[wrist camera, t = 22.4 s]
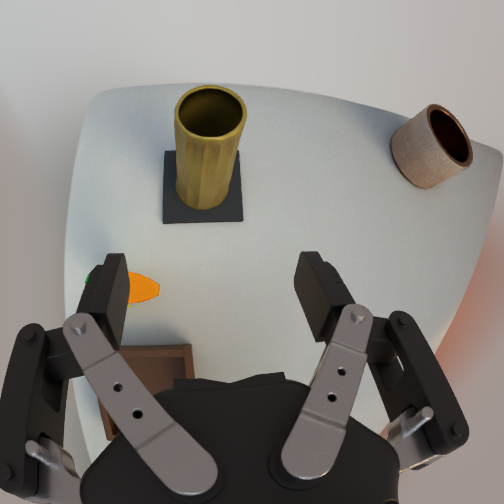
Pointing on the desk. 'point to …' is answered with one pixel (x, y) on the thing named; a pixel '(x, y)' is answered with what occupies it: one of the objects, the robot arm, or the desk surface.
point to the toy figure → (140, 288)
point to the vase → (207, 143)
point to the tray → (153, 372)
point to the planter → (431, 147)
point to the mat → (183, 213)
